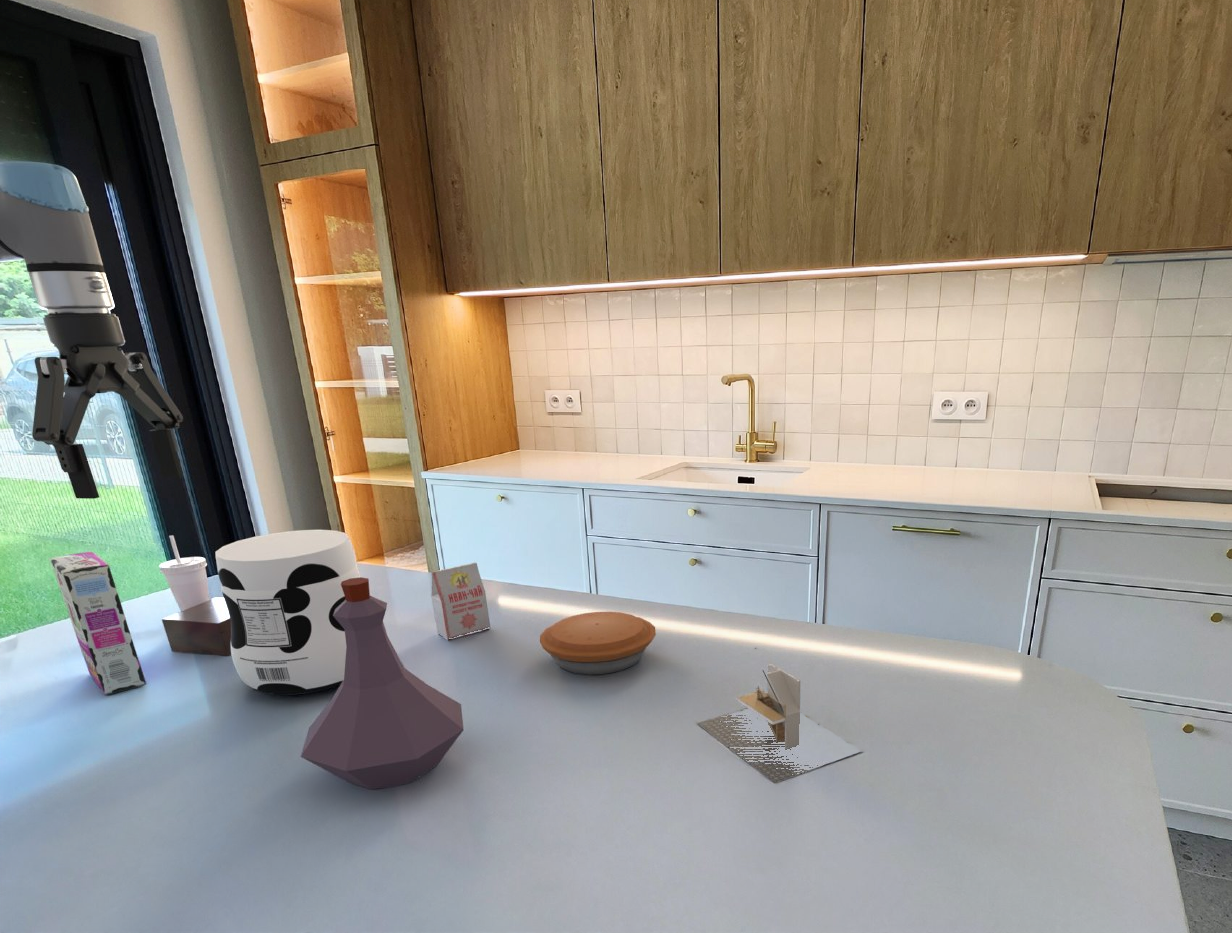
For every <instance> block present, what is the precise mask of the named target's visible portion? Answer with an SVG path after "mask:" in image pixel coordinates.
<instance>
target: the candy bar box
mask: <svg viewBox="0 0 1232 933" xmlns="http://www.w3.org/2000/svg"><path fill="white" fill-rule="evenodd" d="M49 561H50V564H51V566H52V569H53V573H54V575H55V577H56V580H57V584H58V587H59V591H60V593H61V596H62V599H63V601H64V604H65V608H66V611H67V613H68V616H69V619H70V621H71V625H72V628H73V630H74V633H75V636H76V637H75V638H76V639H77V643H78V645H79V648H80V651H81V654H82V657H83V660H84V662H85V665H86V667H87V671H88V673H89V675H90V677H91V678H92V679H93V680H94V682H95V684H97V686H98V687H99V689H100V691H101V692H102V694H103V695H104V696H109V695H112V694H116V693H120V692H123V691H124V692H125V691H128V690H132V689H136V688H139V687H142V686H146V685H147V681H146V678H145V675H144V672H143V669H142V666H141V663H140V662H141V661H140V659H139V657H138V654H137V651H136V647H135V644H134V641H133V640H134V639H133V637H132V634H131V631H130V628H129V625H128V621H127V619H126V614H125V612H124V609H123V605H122V601H121V599H120V596H119V593H118V590H117V586H116V583H115V580H114V577H113V574H112V571H111V567H110V565H109V564H108V563H107V562H106V561H104V560H103V559H102V558H100V556H98V555H97V554H95V552H93V551H85V552H77V553H72V554H64V555H60V556H54V557H50V558H49Z"/></svg>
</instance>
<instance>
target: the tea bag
mask: <svg viewBox="0 0 1232 933" xmlns="http://www.w3.org/2000/svg"><path fill="white" fill-rule="evenodd" d="M486 594H487V593H486V590H485V586H484V583H483V581H482V577H481V574H480V571H479V567H478V563H477V562H471V563H467V564H462V565H458V566H453V567H448V568H443V569H439V570H434V571H431V594H430V595H431V597H430V598H431V603H432V608H433V615H434V619H435V626H436V632H437V634H438V633H439V634H440V635H442V636H443V637H445V638H447V639H449V638H454V637H457V636H459V635H465V634H467V633H470V632H474V631H478V630H483V629H485V628H488V627H490V628H491V623H490V616H489V608H488V601H487V595H486ZM440 635H439V636H440ZM443 637H442V638H443Z"/></svg>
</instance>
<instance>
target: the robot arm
mask: <svg viewBox="0 0 1232 933" xmlns="http://www.w3.org/2000/svg"><path fill="white" fill-rule="evenodd" d="M89 209H90V208H89V206H87V204H86V200H85V198H84V195H83V192H82V189H81V187H80V184H79V180H78V179H77V177H76V175H75V174H74V173H73V171H71V170H70V169H68V168H66V167H64V166H62V165H59V164H54V163H47V162H38V161H25V160H24V161H23V160H22V161H21V160H19V161H18V160H17V161H16V160H15V161H14V160H9V161H3V162H0V264H2V263H7V262H8V263H9V262H18V261H24V262H25V266H26V267H25V268H26V271H27V273H28V276H29V279H30V282H31V286H32V288H33V292H34V295H35V298H36V302H37V304H38V308H40V309H41V310H45V312H46V314H44V317H43V318H42V319H43V323H44V326H45V329H46V332H47V336H48V338H49V341H50V344H51V345H52V347H54V348H56V349H57V350H58V356H59V357H58V356H36V357H35V358H34V365H35V369H36V374H37V385H36V392H35V393H36V395H35V404H34V413H33V424H32V432H31V436H32V439H33V440H34V441H36V442H43V443H44V444H45V445H48V446H53V448H54V450H55V454H56V456H57V457H56V458H57V460H58V463H59V465H60V468H61V470H62V471H63V473H67V475H68V479H69V482H70V485H71V487H72V488H71V489H72V491H73V493H74V496H75V499H85V500H86V499H88V500H90V499H93V500H95V499H99V498H100V494H99V490H98V488H97V485H96V482H95V479H94V478H95V477H94V476H93V472H92V468H91V466H90V463H89V460H88V457H87V454H86V451H85V447H84V444H83V443H75V441H76V440H77V436H78V434H79V431H80V429H81V425H82V423H83V421H84V418H85V416H86V412H87V410H88V407H89V404H90V401H91V399H93V398H94V397H95V396H96V394H106V393H115V394H117V395H119V396H120V397H121V398H122V399H124V401H125V402H127V403H128V404H129V405H130V406H131V408H133V409H134V410H135V411H136V412H137V413H138V414H139V415H140V416H142V417H143V419H144V420H145V421H147V422H148V423H149V424H150V425H151V426H152V427H153V428H154V429H150V430H148V432H149V435H150V439H151V443H152V446H153V449H154V453H155V456H156V460H157V463H158V467H159V470H160V473H161V474H160V475H161V477H162V479H173V480H175V479H177V480H178V479H184V474H183V470H182V467H181V463H180V459H179V456H178V453H179V446H178V444H177V440H176V436H175V431H174V429H179V428H180V423H182V422H183V421H184V416H183V414H182V413H181V411H180V409H178V406H177V405H176V404H175V402H174V401H173V399H172V398H171V396H170V395H169V393H168V392H167V391H166V389H165V387H164V386H163V385H162V383H161V382H160V380H159V379H158V377H157V376H156V374H155V373H154V371H153V370H152V368H151V364H150V362H149V360H148V357H147V355H146V354H145V352H125V353H124V351H123V348H122V346H124V345H125V343H126V340H125V336H124V332H123V329H122V326H121V322H120V320H119V316H116V314H115V313H111V310H112V309H114V308H115V302H114V299H113V296H112V292H111V289H110V285H109V282H108V279H107V274H106V270H105V268H104V263H103V261H102V257H101V253H100V250H99V247H98V246H99V245H98V242H97V239H96V235H95V230H94V228H93V225H92V221H91V218H90V214H89V211H90V210H89ZM65 375H66V376H67V378H66V376H65ZM65 378H66V380H65Z"/></svg>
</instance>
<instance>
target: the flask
mask: <svg viewBox="0 0 1232 933" xmlns="http://www.w3.org/2000/svg"><path fill="white" fill-rule="evenodd" d="M341 587H342V589H343V592H344V595H345V598H346V600H345V601H344V602H343V603H341V604H340V605H339V606H338V607H337V608H336V609H335V611H334V614H333V616H334V617H335V619H336V620H337V621H338V622H339V623H340V625H341V626H342V627H343V628H344V629H345V638H346V660H345V673H344V680H343V681H342V683H341V685H339V686H338V687H337V689H336V690H335V693H334V694H333V696H332V698H331V699H330V701H328V702H327V704H326V706H325V707H324V708H323V709H322V711H320V713H319V714H318V716H317V717H316V718H315V720H314V721H313V722H312V724H311V725H310V726H309V727H308V730H307V733H306V736H305V740H304V743H303V744H304V745H303V747H302V751H301V754H300V758H302V759H304V760H306V761H308V762H310V763H312V764H313V765H315V766H317V767H319V768H321V769H323V770H325V771H326V772H329V773H330V774H332V775H334V776H336V777H338V778H340V779H341V780H344V781H345V782H347V783H350V784H352V785H353V784H354V785H357V786H360V787H363V788H366V789H369V790H373V791H374V790H379V789H385V788H390V787H391V788H392V787H397V786H401V785H400V784H402V785H407V784H411V783H413V782H414V781H416V780H418V779H419V778H420V777H422V776H423V775H422V774H424V773H425V774H427V773H428V772H430V771H431V770H432V769H431V768H433V767H434V766H436V765H437V766H438V765H439V763H440V762H441V761H442V760H443V759H444V757H445V755H446V754H447V753H448V752H449V751H450V749H451V748H452V746H453V745H454V744H455V742H456V741H457V740H458V738H459V737H460V736H461V735H462V733H463V732H464V729H465V728H464V719H463V711H462V703H460V702H458V701H457V700H455V699H453V698H451V697H449V696H448V695H446V694H444V693H443V692H441V691H439V690H438V689H436V688H434V687H433V686H431V685H429V684H428V683H426V682H425V681H423V680H422V679H421V678H420V677H418V676H416V675H415V674H413V673H412V672H411V671H409V670H408V669H407V668H405V666H404V664H403V663H402V660H401V659H400V657H399V655H398V653H397V651H396V649H395V647H394V646H393V644H392V642H391V640H390V638H389V637H388V633H387V629H386V627H385V623H384V618H385V615H386V611H387V607H388V602H386V601H383V600H382V599H379V598H377V597H374V596H372V595H371V594H370V593H371V592H370V580H369V578H368V577H360V578H351V579H348V580H345V581H342V582H341ZM437 766H436V767H437ZM434 768H435V767H434ZM434 768H433V769H434ZM430 769H431V770H430ZM429 770H430V771H429ZM427 771H428V772H427ZM426 772H427V773H426ZM425 774H424V775H425ZM421 775H422V776H421ZM419 776H420V777H419ZM418 777H419V778H418ZM415 779H416V780H415ZM412 781H413V782H412Z"/></svg>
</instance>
